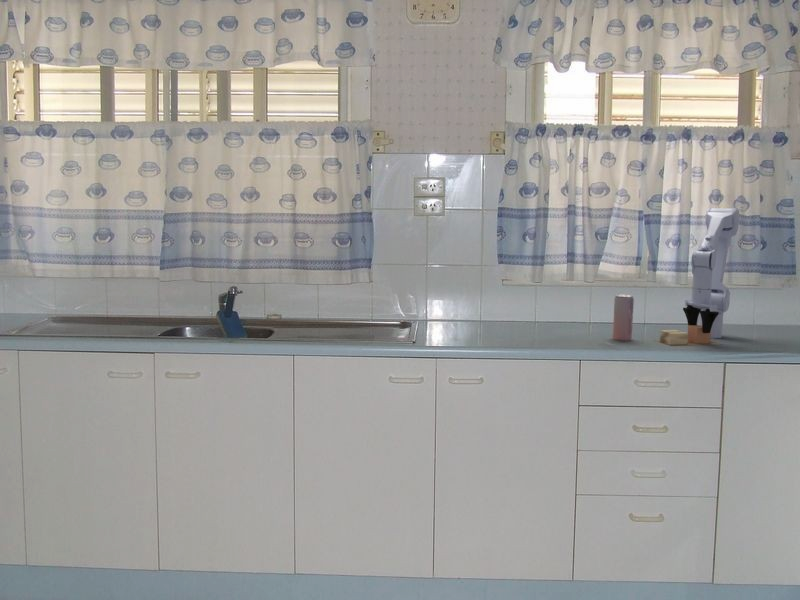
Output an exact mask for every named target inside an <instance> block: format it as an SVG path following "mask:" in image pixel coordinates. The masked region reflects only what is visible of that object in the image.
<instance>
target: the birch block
mask: <svg viewBox="0 0 800 600" xmlns="http://www.w3.org/2000/svg"><path fill="white" fill-rule="evenodd" d="M659 340H660V342H664V343H667V344H670V345H674V344H687V341H688V332H685V331H682V330H678V329H670V330H665V329H664V330H660V333H659ZM660 342H659V343H660Z"/></svg>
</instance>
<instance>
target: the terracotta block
mask: <svg viewBox="0 0 800 600" xmlns="http://www.w3.org/2000/svg"><path fill="white" fill-rule="evenodd" d="M687 333H688V341H689V342H693V343H696V344H697V343H710V341H711V339H712V338H711V331H710V333H703V331H702V325H688V324H687Z"/></svg>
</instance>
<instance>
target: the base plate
mask: <svg viewBox="0 0 800 600" xmlns="http://www.w3.org/2000/svg"><path fill="white" fill-rule="evenodd" d="M654 342H657V343H660V344H664V345H666V346H669V347H676V346H677V347H679V346H680V347H682V346H686V347H687V346H708V345H709V346H711V345H712V346H713V345H714V346H715V345H720V343H719V342H715V341H713V340H712V341H711V340H710V343H697V344H696V343H693V342H689V341H687V344H674V345H670V344H667V343H664V342H660V339H657V340H656V339H655V340H654Z"/></svg>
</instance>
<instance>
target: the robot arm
mask: <svg viewBox="0 0 800 600" xmlns="http://www.w3.org/2000/svg"><path fill="white" fill-rule="evenodd" d="M739 222H740V211H739V209H738V208H736V207H734V208H730V207H729V208H725V207H723V208H720V207H718V208H717V207H713V208H712V207H708V208H707V210H706V212H705V224H706V229H707V233H706V235H703V237H702V238H701V240H700V243H699V245H698V247H697V250H696V251H695V252H694V251H693V252H692V255H691V264H690V265H691V273H692V289H691V299H685V301H684V307H683V308H682V310H683V313H684V315H685V317H686V321H687V326H688V325H702V331H703V333H710V331H711V339H720V338H722V337H723V327H724V326H723V324H724V313H726V312H727V311H728V310H729V307H730V301H731V300H730V296H731V292H730V288H728V286H726V285H725V284H723V281H724V278H725V277H724V276H725V271H726V270H725V269H726V266H727V265H726V264H727V257H728V251H729V246H730V243H731V239H732V238H733V237H734V236H737V232H738V231H739V224H740V223H739Z"/></svg>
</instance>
